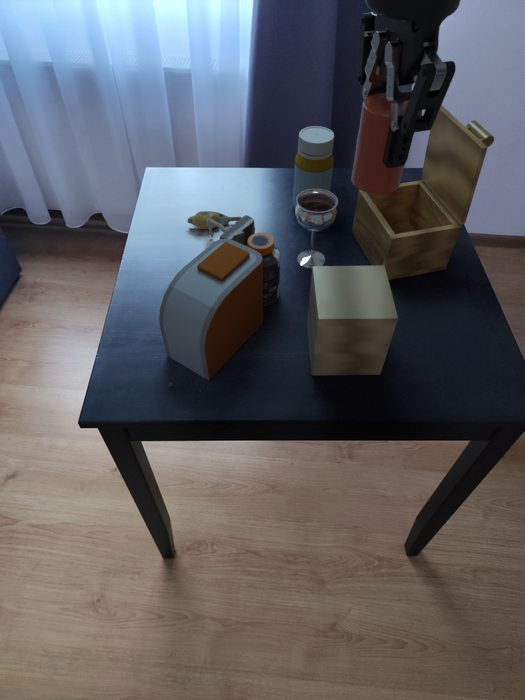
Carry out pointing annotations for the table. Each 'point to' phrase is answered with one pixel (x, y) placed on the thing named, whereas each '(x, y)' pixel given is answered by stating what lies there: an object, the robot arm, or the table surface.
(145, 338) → the table surface
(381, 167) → the spice tin
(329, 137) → the bottle
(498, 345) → the table surface
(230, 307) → the alarm clock
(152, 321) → the table surface
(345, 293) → the block
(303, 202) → the wineglass
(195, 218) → the decorative sculpture
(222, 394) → the table surface
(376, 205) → the box
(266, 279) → the pill bottle
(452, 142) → the lid
